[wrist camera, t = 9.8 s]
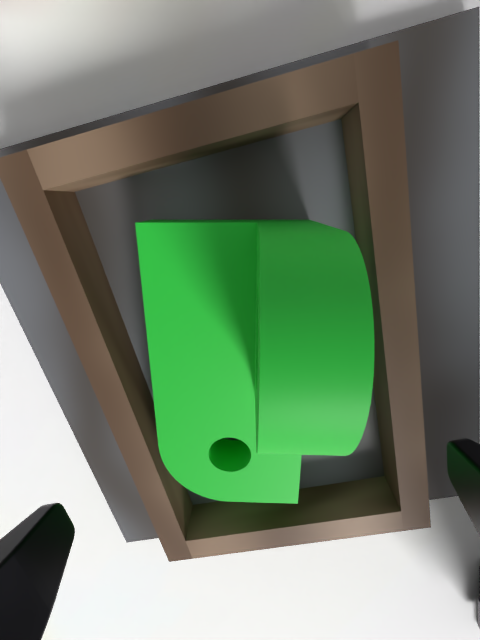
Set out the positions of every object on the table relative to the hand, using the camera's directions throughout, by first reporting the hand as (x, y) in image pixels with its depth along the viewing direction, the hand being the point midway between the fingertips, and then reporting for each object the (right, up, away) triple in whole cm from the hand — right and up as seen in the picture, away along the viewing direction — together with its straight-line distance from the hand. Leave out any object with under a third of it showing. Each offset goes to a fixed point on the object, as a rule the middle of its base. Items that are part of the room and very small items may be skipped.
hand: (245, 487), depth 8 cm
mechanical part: (0, +2, +7) cm, 8 cm away
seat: (0, +3, +8) cm, 8 cm away
